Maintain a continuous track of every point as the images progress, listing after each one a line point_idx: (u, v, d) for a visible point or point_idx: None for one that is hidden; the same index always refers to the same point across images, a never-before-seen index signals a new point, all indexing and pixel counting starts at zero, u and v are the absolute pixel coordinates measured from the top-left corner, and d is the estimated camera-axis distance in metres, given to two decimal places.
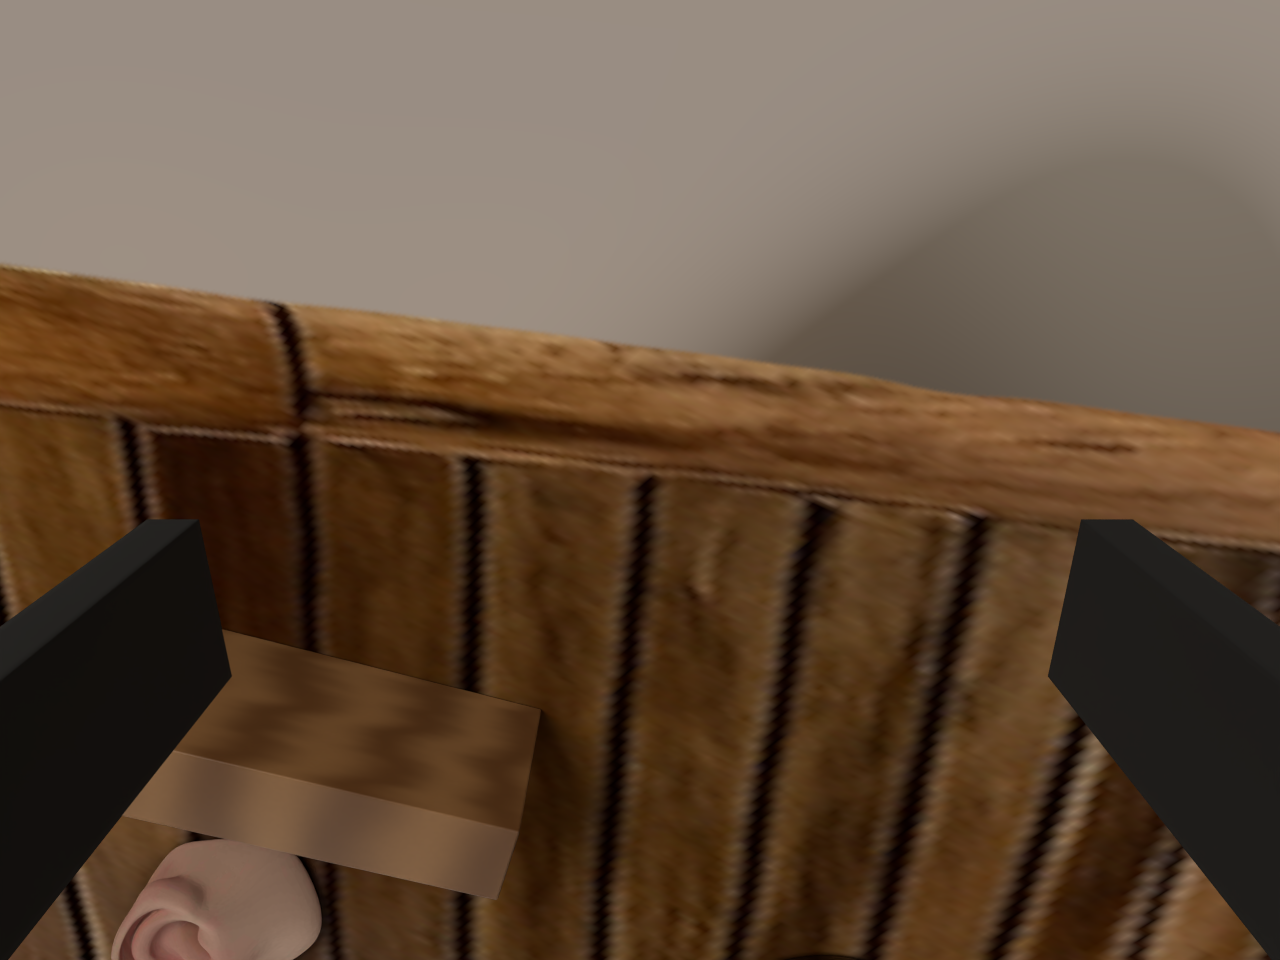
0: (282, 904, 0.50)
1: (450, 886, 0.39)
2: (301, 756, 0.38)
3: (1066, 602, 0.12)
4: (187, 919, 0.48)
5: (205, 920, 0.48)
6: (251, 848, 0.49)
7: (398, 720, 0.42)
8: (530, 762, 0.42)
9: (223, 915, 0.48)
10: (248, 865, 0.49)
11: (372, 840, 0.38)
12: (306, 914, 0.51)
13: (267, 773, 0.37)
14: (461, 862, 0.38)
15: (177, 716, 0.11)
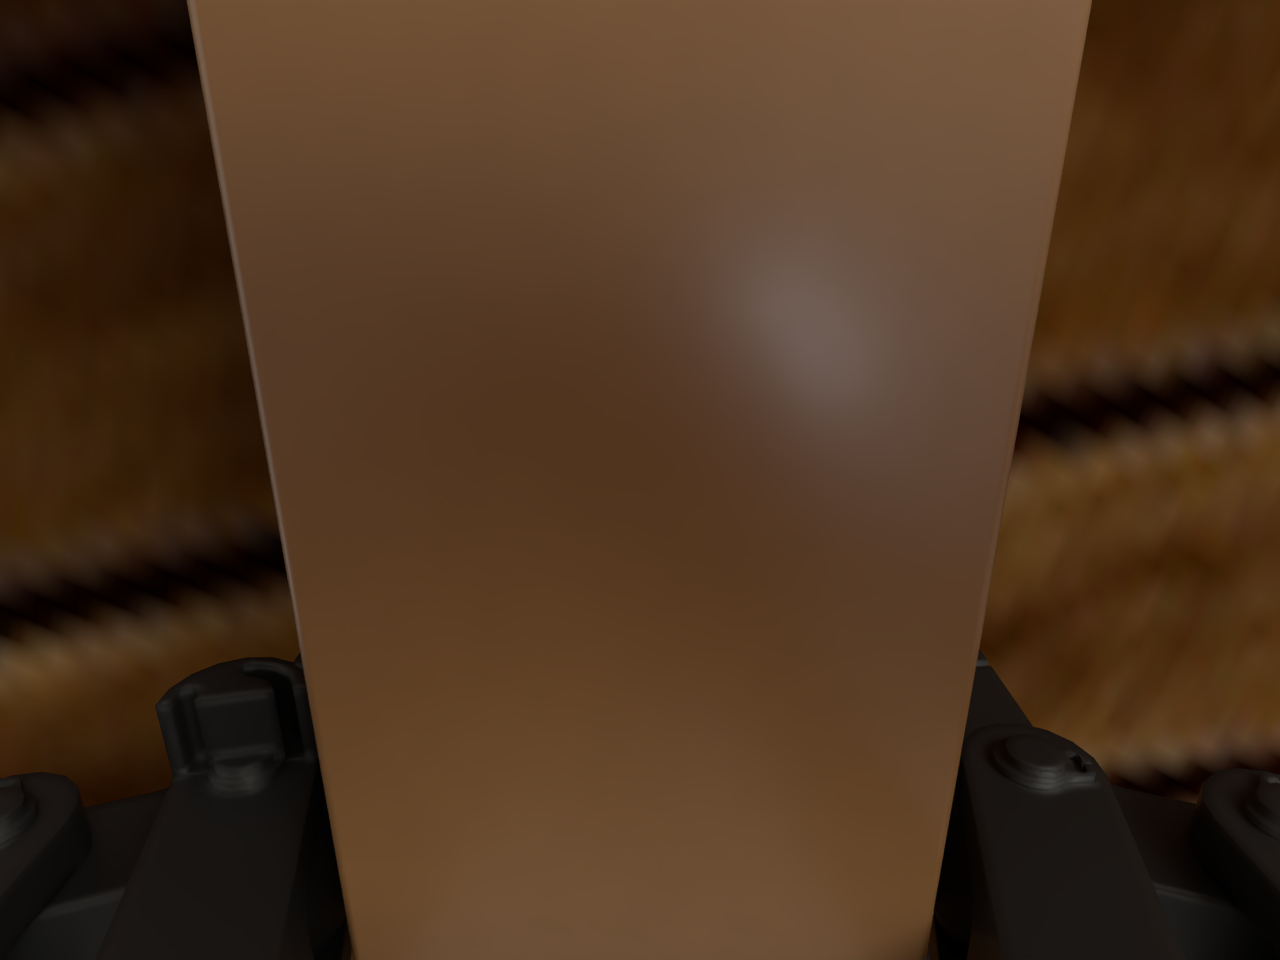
0: None
1: None
2: None
3: None
4: None
5: None
6: None
7: None
8: None
9: None
10: None
11: (602, 657, 0.05)
12: None
13: None
14: None
15: None
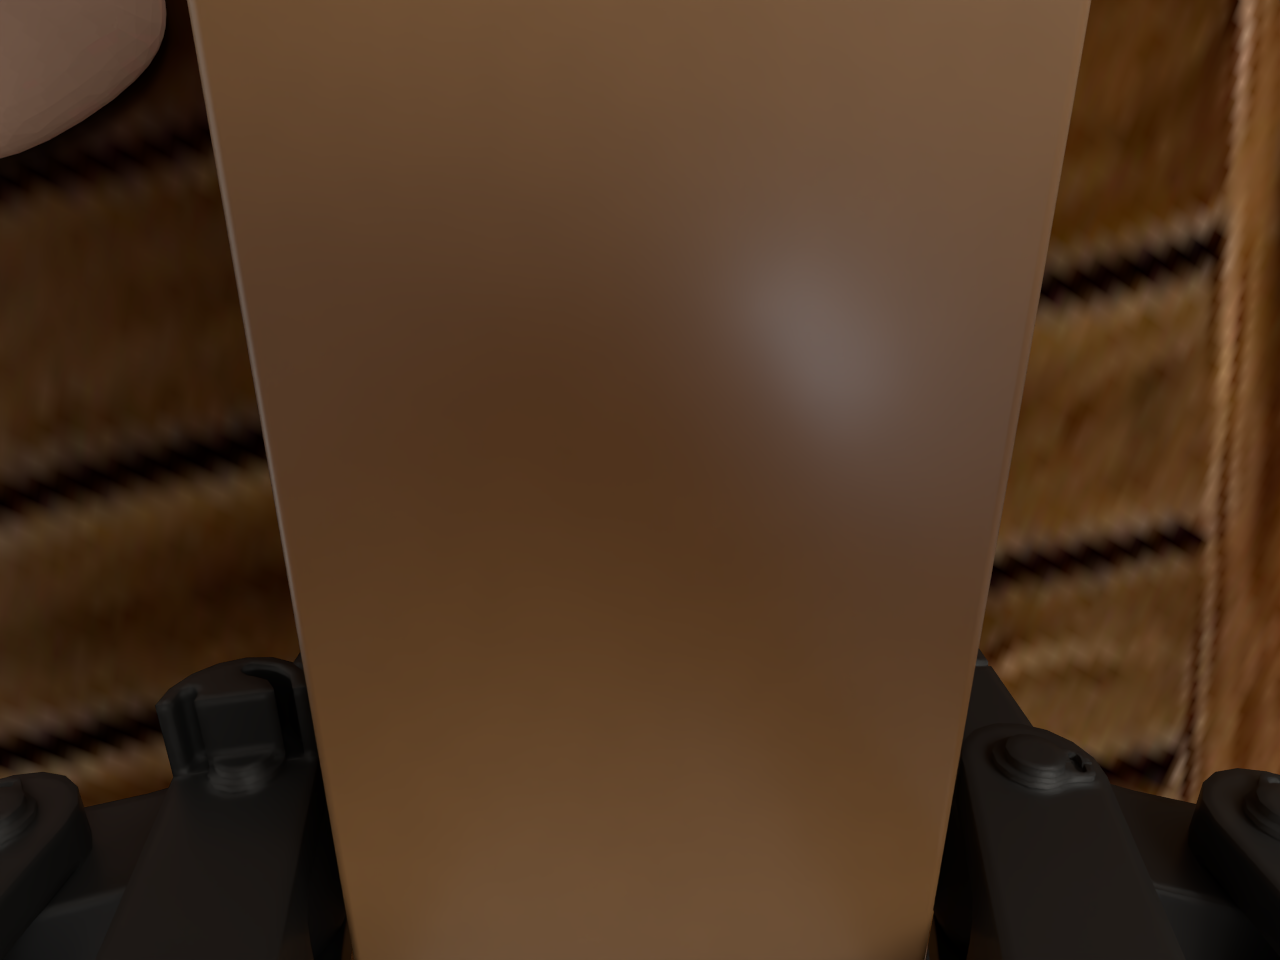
0: (2, 58, 0.19)
1: None
2: None
3: None
4: None
5: None
6: None
7: None
8: None
9: None
10: None
11: (601, 656, 0.05)
12: None
13: None
14: None
15: None
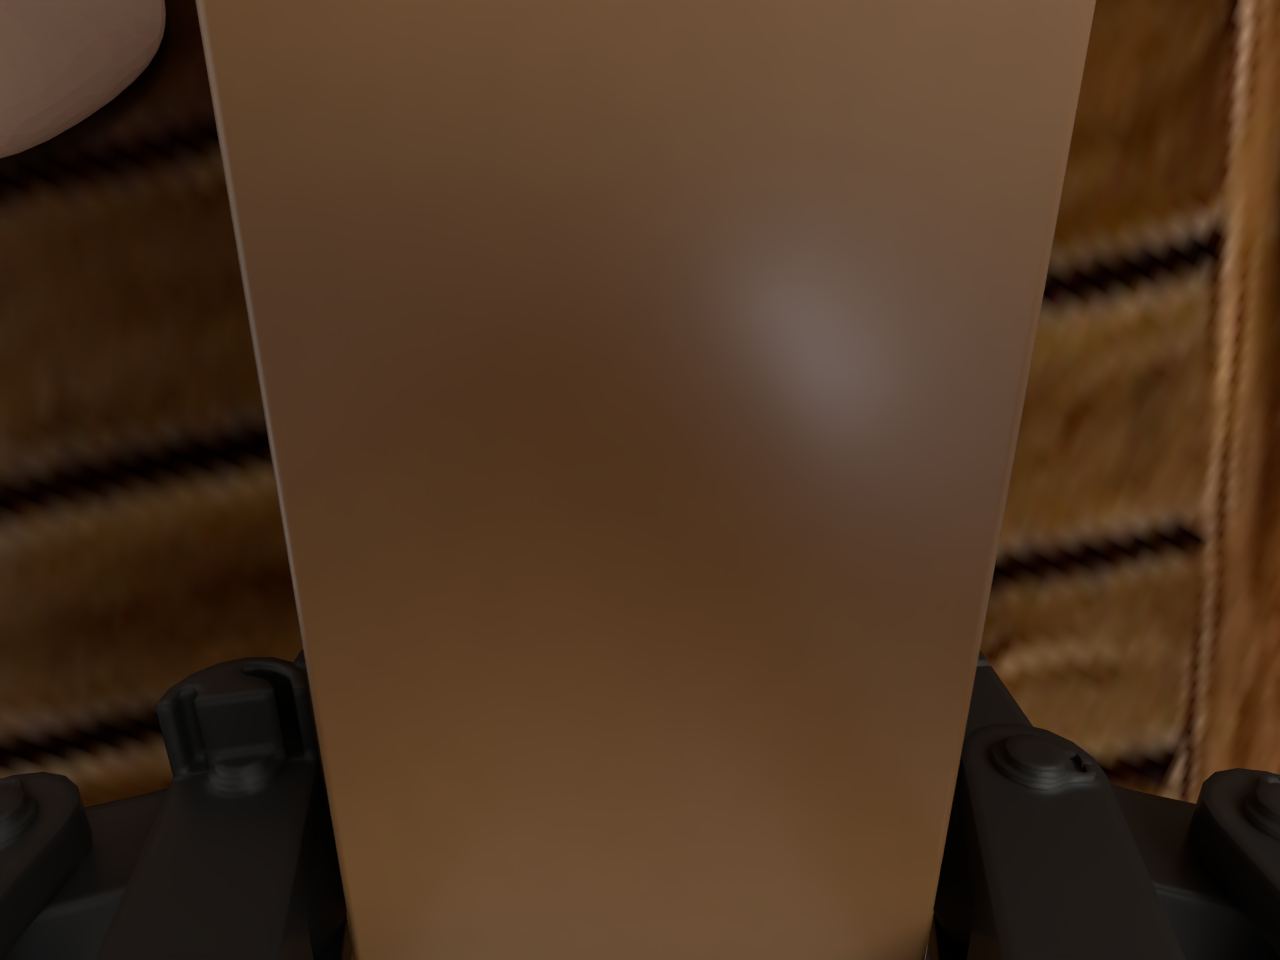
0: (2, 58, 0.19)
1: None
2: None
3: None
4: None
5: None
6: None
7: None
8: None
9: None
10: None
11: (604, 652, 0.05)
12: None
13: None
14: None
15: None
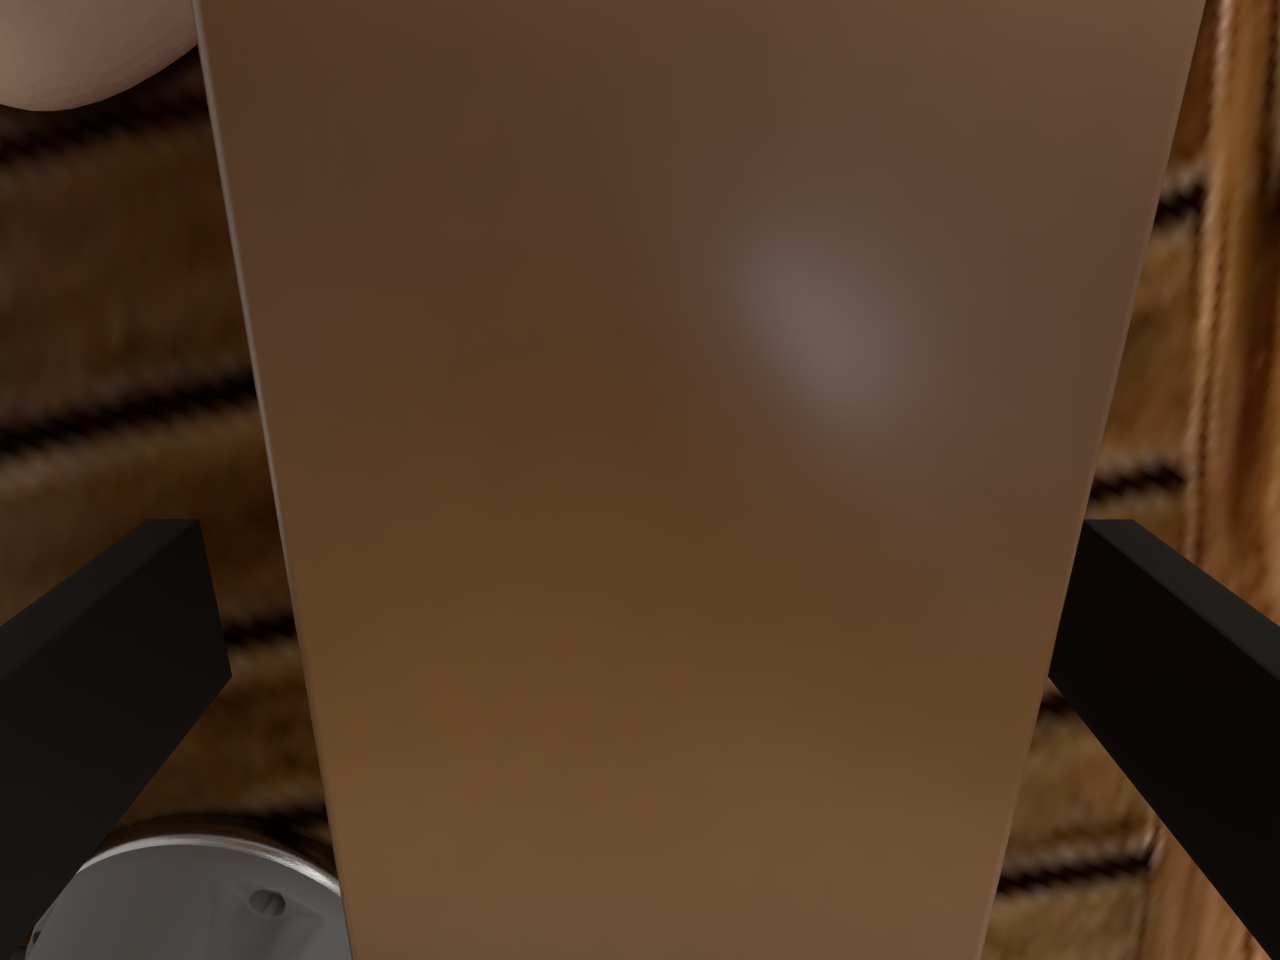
0: (93, 11, 0.21)
1: None
2: None
3: (1066, 602, 0.12)
4: None
5: None
6: None
7: None
8: None
9: None
10: None
11: (636, 520, 0.04)
12: (81, 73, 0.22)
13: None
14: None
15: (177, 716, 0.11)
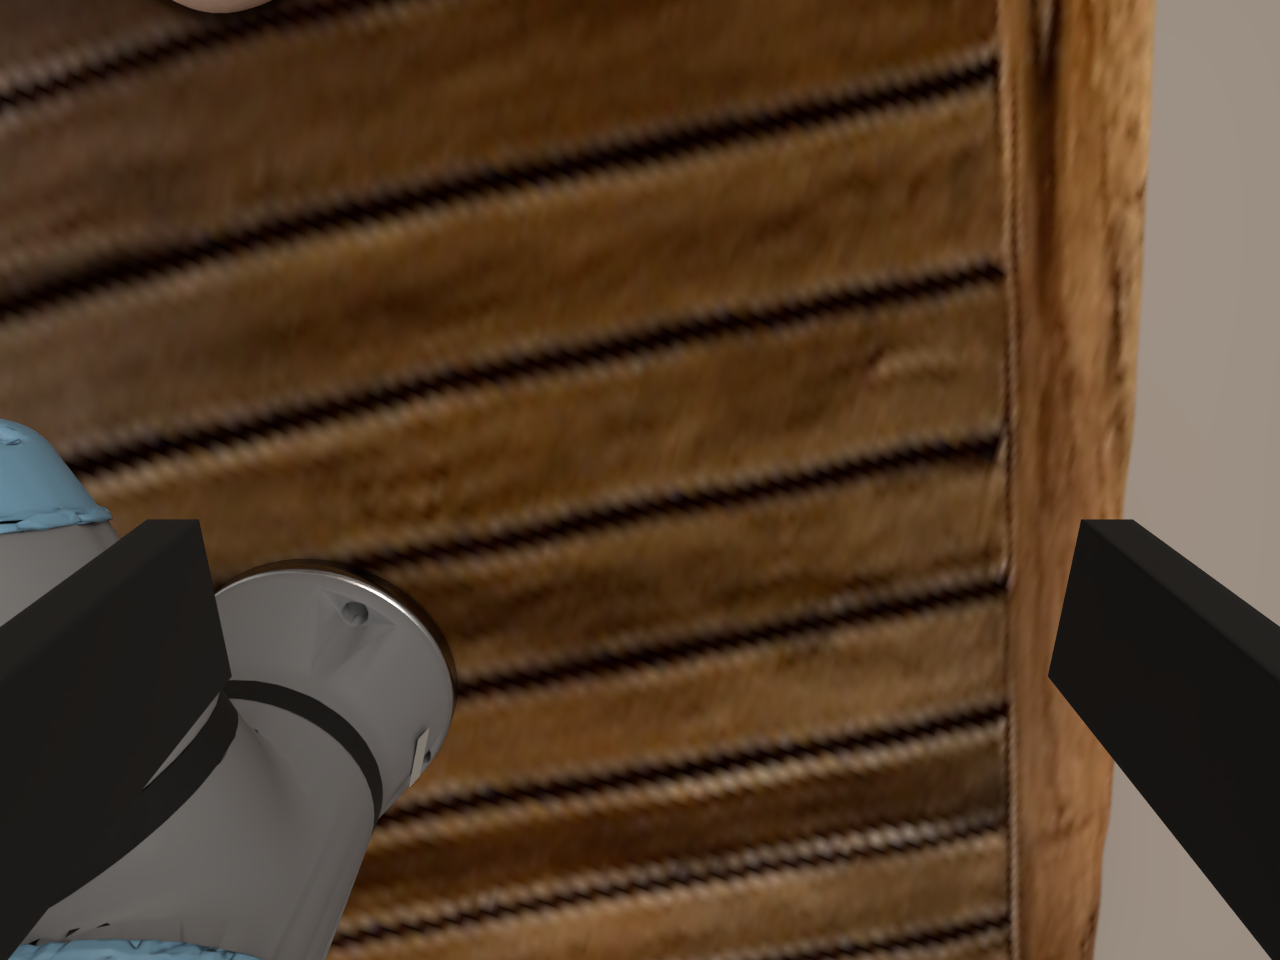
0: None
1: None
2: None
3: (1067, 602, 0.12)
4: None
5: None
6: None
7: None
8: None
9: None
10: None
11: None
12: None
13: None
14: None
15: (177, 716, 0.11)
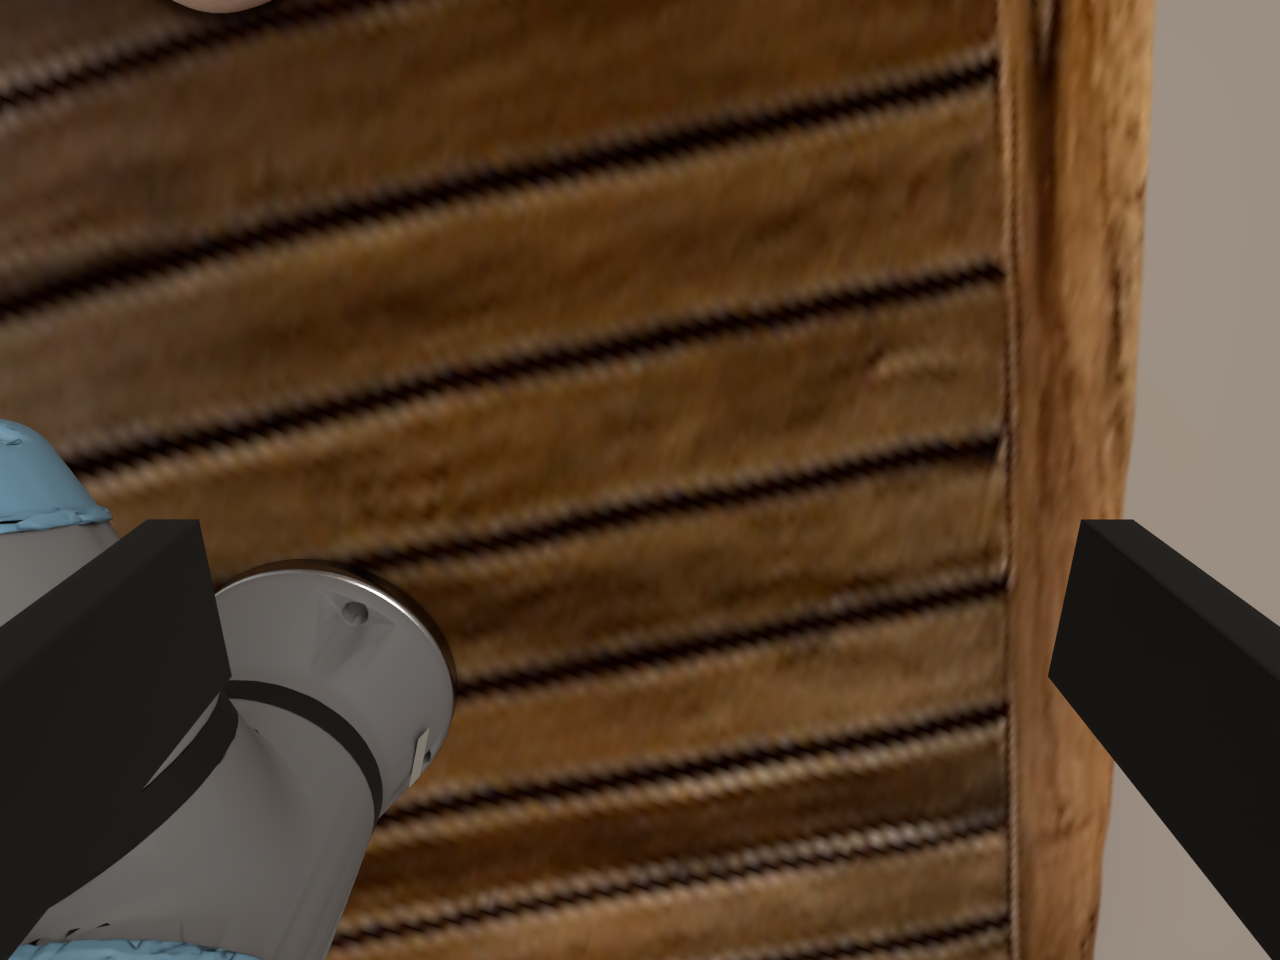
0: None
1: None
2: None
3: (1067, 602, 0.12)
4: None
5: None
6: None
7: None
8: None
9: None
10: None
11: None
12: None
13: None
14: None
15: (177, 716, 0.11)
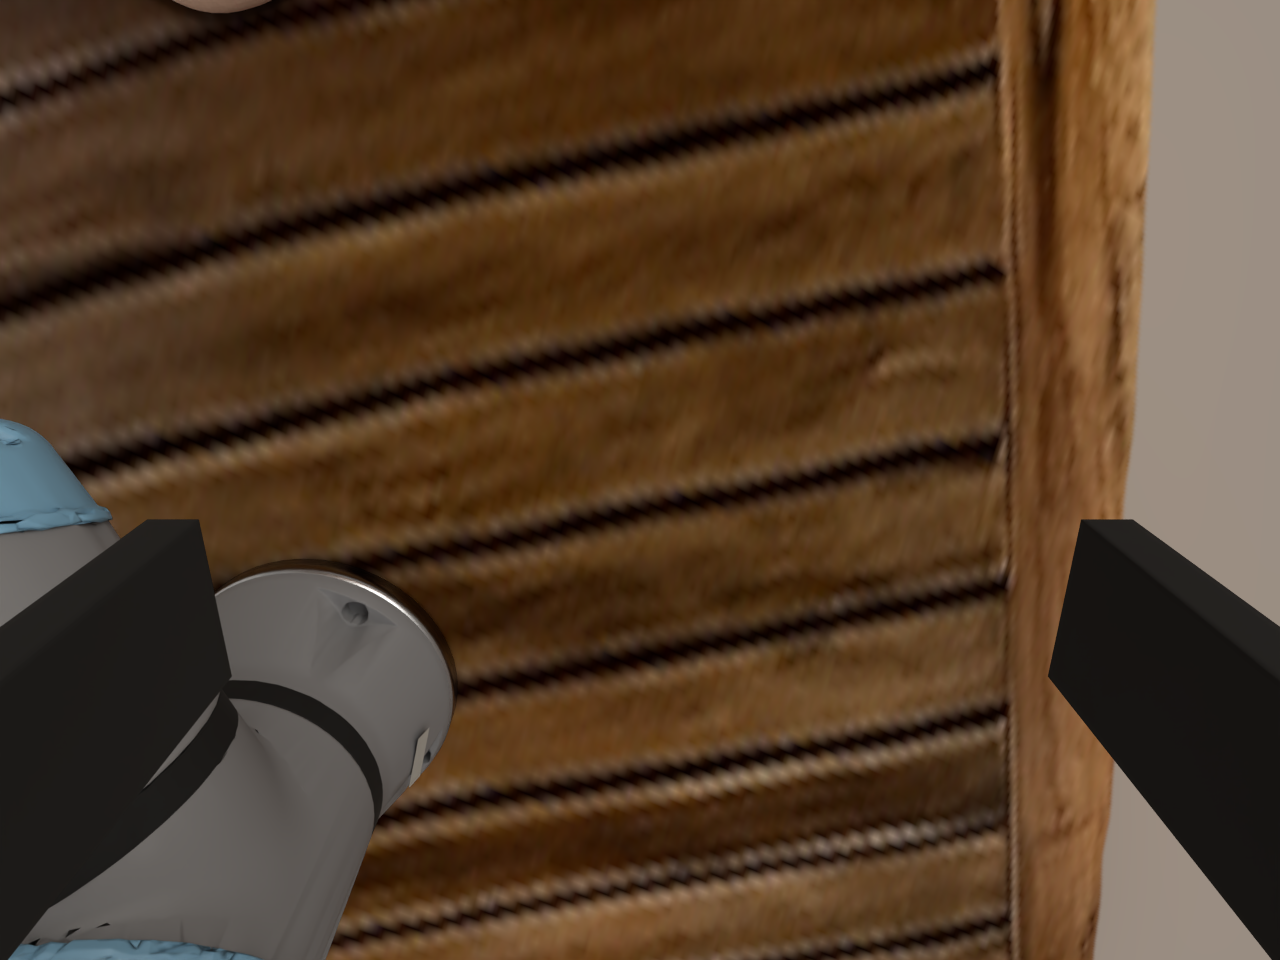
0: None
1: None
2: None
3: (1067, 602, 0.12)
4: None
5: None
6: None
7: None
8: None
9: None
10: None
11: None
12: None
13: None
14: None
15: (177, 716, 0.11)
